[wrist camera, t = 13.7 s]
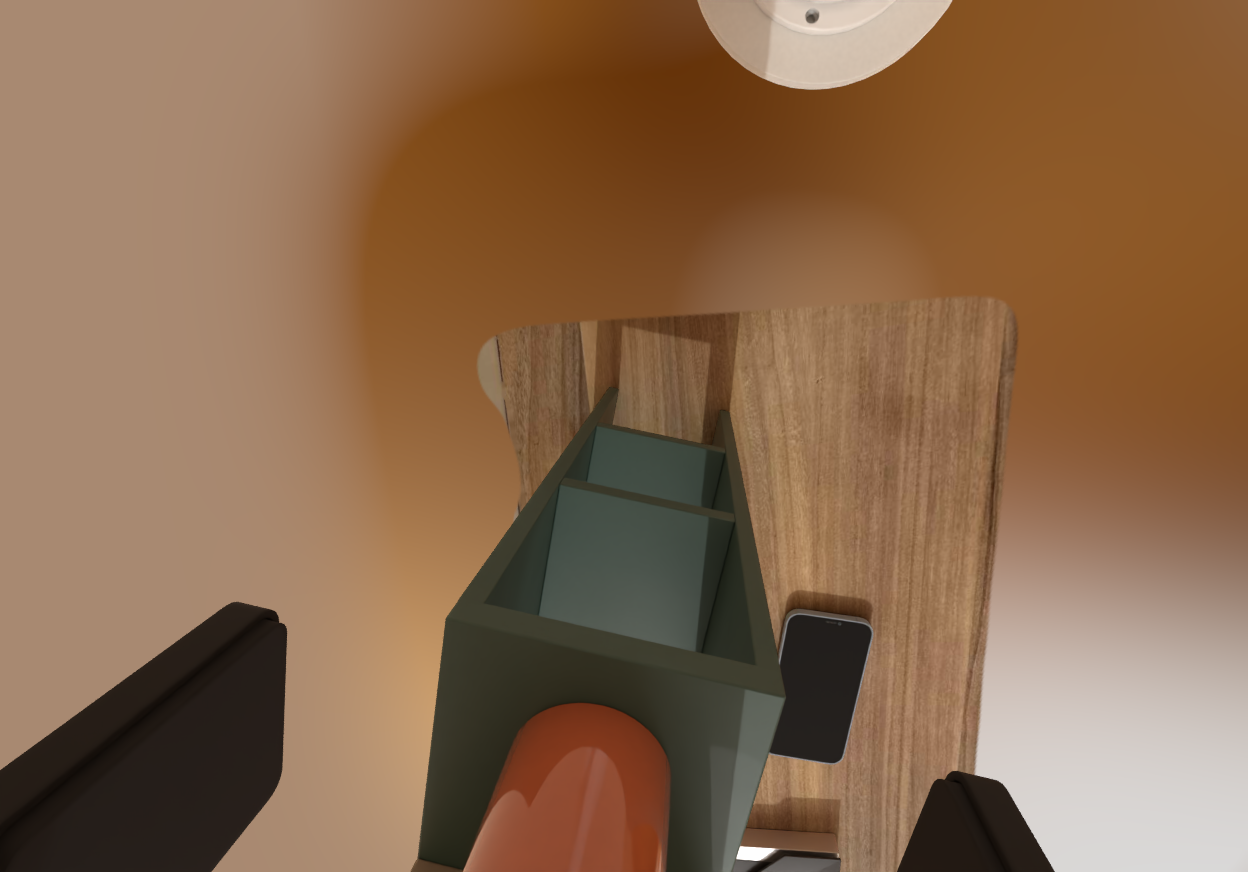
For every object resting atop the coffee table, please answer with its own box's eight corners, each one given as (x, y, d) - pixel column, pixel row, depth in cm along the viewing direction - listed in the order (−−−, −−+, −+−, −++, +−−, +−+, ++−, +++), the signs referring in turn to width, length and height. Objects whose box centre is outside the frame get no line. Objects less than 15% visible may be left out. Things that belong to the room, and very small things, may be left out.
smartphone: (760, 753, 58) (787, 611, 54) (759, 745, 59) (786, 605, 55) (841, 766, 58) (876, 624, 54) (839, 758, 59) (873, 618, 54)
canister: (520, 684, 19) (441, 873, 13) (687, 723, 18) (681, 934, 13) (499, 815, 20) (419, 1037, 14) (653, 853, 20) (634, 1097, 14)
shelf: (609, 386, 52) (100, 1100, 8) (729, 411, 51) (916, 1335, 7) (589, 498, 55) (132, 1483, 11) (703, 522, 54) (719, 1675, 10)
